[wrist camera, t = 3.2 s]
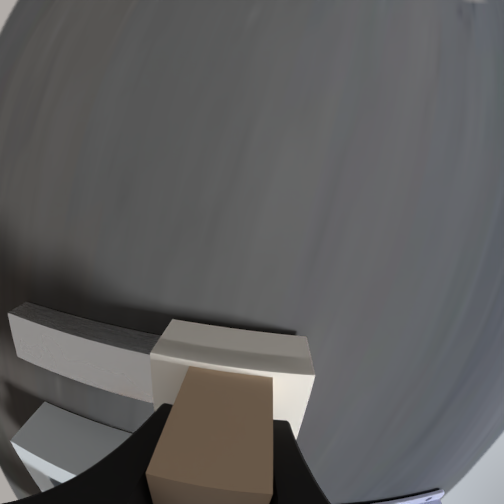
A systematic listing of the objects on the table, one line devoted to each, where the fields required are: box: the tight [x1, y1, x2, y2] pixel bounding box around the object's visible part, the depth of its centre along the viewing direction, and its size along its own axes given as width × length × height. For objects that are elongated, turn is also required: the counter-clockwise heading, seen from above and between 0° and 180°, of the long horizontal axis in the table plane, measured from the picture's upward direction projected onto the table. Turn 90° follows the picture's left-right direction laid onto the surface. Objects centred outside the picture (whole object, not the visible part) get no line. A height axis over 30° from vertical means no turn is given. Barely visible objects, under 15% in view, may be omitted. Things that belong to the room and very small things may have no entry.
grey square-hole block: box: [10, 402, 132, 492], centre depth 12 cm, size 7×7×4 cm
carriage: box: [146, 319, 315, 504], centre depth 8 cm, size 5×4×7 cm
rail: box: [8, 302, 161, 403], centre depth 11 cm, size 13×2×2 cm, turn 84°
